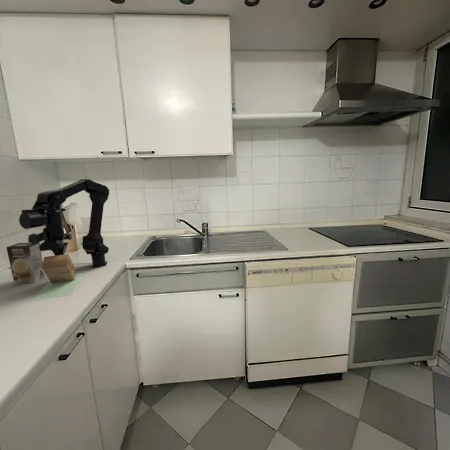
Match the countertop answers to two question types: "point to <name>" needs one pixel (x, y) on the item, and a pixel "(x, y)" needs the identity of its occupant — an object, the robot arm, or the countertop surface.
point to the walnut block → (59, 268)
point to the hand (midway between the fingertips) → (60, 261)
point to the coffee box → (25, 263)
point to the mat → (58, 289)
